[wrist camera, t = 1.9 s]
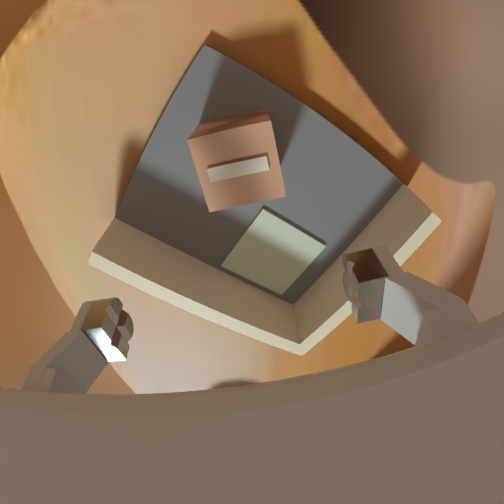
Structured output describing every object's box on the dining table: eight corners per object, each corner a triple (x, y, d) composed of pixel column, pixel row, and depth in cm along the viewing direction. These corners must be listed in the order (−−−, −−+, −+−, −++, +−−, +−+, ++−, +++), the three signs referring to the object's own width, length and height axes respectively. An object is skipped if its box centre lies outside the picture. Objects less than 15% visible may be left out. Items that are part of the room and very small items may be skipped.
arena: (407, 186, 28) (441, 221, 22) (294, 309, 37) (301, 356, 31) (206, 45, 20) (191, 38, 15) (114, 223, 30) (88, 263, 24)
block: (265, 108, 23) (271, 121, 18) (278, 170, 26) (286, 197, 21) (199, 123, 23) (186, 140, 19) (216, 183, 26) (209, 213, 22)
